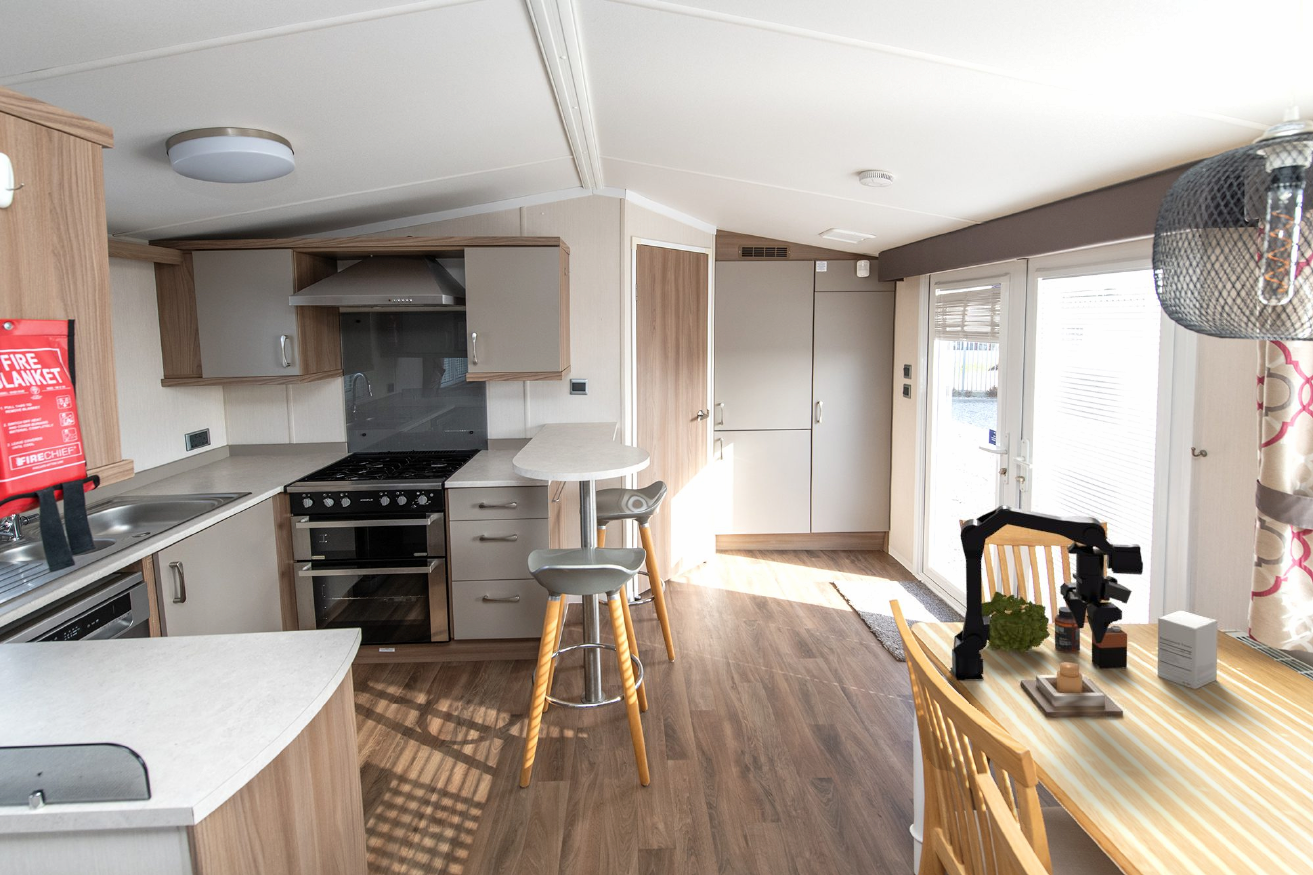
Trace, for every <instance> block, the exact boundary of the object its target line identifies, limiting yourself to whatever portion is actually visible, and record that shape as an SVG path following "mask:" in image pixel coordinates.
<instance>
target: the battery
mask: <svg viewBox="0 0 1313 875" xmlns="http://www.w3.org/2000/svg"><path fill="white" fill-rule="evenodd" d="M1091 662H1092V664H1094V665H1095V666H1096V667H1098V668H1099V669H1101V670H1104V669H1122V668H1123V669H1125V668H1127V666H1128V633H1126V631H1124V630H1122V627H1121V626H1119V625H1111V627H1108V628H1107V631H1106V633H1105V636H1104V638H1103V640H1102V643H1096V642H1095V639H1094V637H1093V634H1092V633H1091Z"/></svg>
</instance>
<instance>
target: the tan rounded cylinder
mask: <svg viewBox="0 0 1313 875" xmlns="http://www.w3.org/2000/svg"><path fill="white" fill-rule="evenodd" d="M1082 674H1083V673H1081V672H1080V666H1079V665H1078V664H1076V663H1074V662H1067V661H1066V662H1061V663H1060V664H1059V670H1058V671H1057V672H1056V675H1057V692H1058V693H1082Z"/></svg>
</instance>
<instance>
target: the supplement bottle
mask: <svg viewBox="0 0 1313 875" xmlns="http://www.w3.org/2000/svg"><path fill="white" fill-rule="evenodd" d="M1054 647H1055V649H1056V650H1057V651H1058V652H1061V653H1065V654H1075V653H1076V654H1077V653H1078V652H1080V650H1081V628H1078V626H1077V624H1076V622H1075V620H1074V618H1073V616H1072V614H1071V612H1070V610H1069V608H1068V606H1060V607H1058V614H1057V615H1056V616H1055V617H1054Z"/></svg>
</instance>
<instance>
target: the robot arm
mask: <svg viewBox="0 0 1313 875" xmlns="http://www.w3.org/2000/svg"><path fill="white" fill-rule="evenodd" d="M1005 526H1014V527H1019V528H1023V529H1029V530H1033V531H1038V532H1044V533H1047V534H1054V535H1058V536H1062V537H1064V538H1067V539H1068V540H1070V541H1073V542H1072V544H1070V545H1068V546H1067V547H1066V550H1067V552H1068V554H1069V555H1075V557H1076V558H1075V559H1076V560H1075V569H1076V570H1075V572H1072V579H1074V580H1075V582H1064V583H1062V584H1061V585H1060V586H1059V587H1060V589H1059V593H1060V595H1061V596H1062V599H1063V600H1064V602H1065V604H1066V605H1067V606H1066V607H1068V608H1069V610H1070V612H1071V614H1072V616H1073V618H1074V620H1075V622H1076V624H1077V626H1078V628H1080V629H1084V627H1085V622H1086V620H1087V622H1088V625H1089V627H1090V628H1089V629H1090V630H1091V635H1092V634H1093V637H1094V639H1095V642H1096V643H1102V640H1103V638H1104V636H1105V633H1106V631H1107V628H1109V626H1110V625H1111V624H1113V623H1114V622H1119V621H1121V620H1123V609H1121V608H1120V607H1118V606H1117V605H1115V604H1114V603H1113V602H1111V599H1113V600H1116V601H1119V602H1121V603H1123V604H1127V603H1128V601H1129V599H1130V597H1131V594H1132V592H1133V591H1132V590H1131V589H1129V588H1127V587H1126V586H1125V585H1122V584H1120V583H1118V579H1117V578H1115V577H1114V576H1111V575H1107V576H1105V561H1106V569H1108V570H1109V569H1110V570H1111V572H1112V574H1119V575H1121V574H1122V575H1139V576H1140V575H1143V571H1144V570H1143V569H1144V562H1143V560H1142V553H1141V552H1142V551H1141V546H1140V544H1137V543H1134V544H1133V543H1132V544H1131V543H1130V544H1118V543H1117V544H1115V543H1114V544H1113V542H1112V540H1111V539H1110V538H1108V537H1107V533H1106V530H1105V528H1104V526H1103V525H1102V523H1101V522H1100V521H1099V519H1097V518H1095V517H1092V516H1083V515H1082V516H1078V515H1077V516H1076V515H1075V516H1058V515H1055V514H1054V515H1053V514H1047V513H1043V512H1037V511H1031V510H1026V509H1021V508H1018V507H1013V506H1008V505H1005V504H1004V505H999V506H998V507H997V508H994V509H993V510H991V511H989V512H987V513H985V514H982V515H980V516H978V517H976V519H975V518H969V519H967V520H965V521H964V522H963V523H962V524H961V529H960V534H959V536H960V541H961V546H962V551H963V554H964V558H965V584H966V587H965V588H966V589H965V591H966V603H965V604H966V611H965V615H964V620H963V624H962V625H963V626H962V630H960V632H958V633H957V634H956V635H955V636H954V637H953V638H954V639H953V646H952V649H951V663H952V664H951V667H950V668H949V670H950V669H951V670H950V671H952V672H951V673H952V675H953V677H954V678H955V679H956V681H966V680H965V679H983V680H984V678H985V677H984V676H983V675H984V658H983V656H982V653H981V651H982V650H984V649H985V648H986V647H987V646H988V642H989V641H990V630H989V627H990V617H991V616H990V617H989V616H987V617H984V615H983V612H982V603H983V600H982V597H983V595H982V594H983V593H982V592H983V590H982V587H983V585H982V580H983V579H982V577H983V576H982V575H983V574H982V559H983V554H984V549H985V544H986V540H987V539H988V538H990V537H991V536H993V535H994V534H996V533H997V532H998V531H1000V529H1002V528H1004V527H1005ZM1105 556H1106V557H1105ZM1105 558H1106V560H1105ZM1103 601H1104V602H1103ZM1106 601H1107V602H1106ZM1108 601H1109V602H1108Z"/></svg>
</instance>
